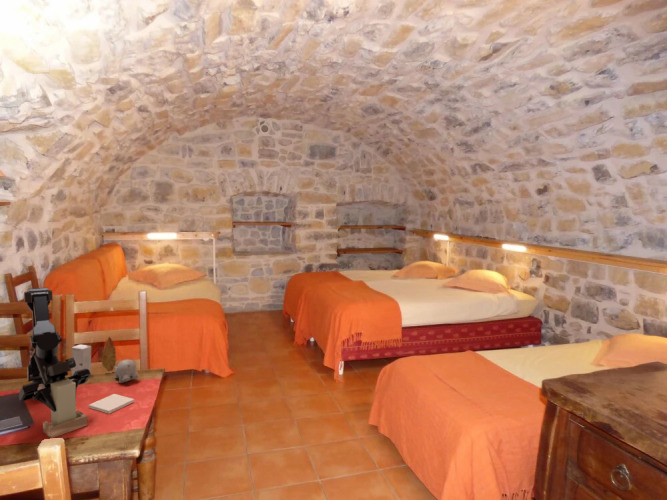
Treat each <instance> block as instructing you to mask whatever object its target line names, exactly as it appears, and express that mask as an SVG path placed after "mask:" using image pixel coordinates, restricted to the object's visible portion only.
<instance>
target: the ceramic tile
mask: <svg viewBox="0 0 667 500" xmlns="http://www.w3.org/2000/svg"><path fill="white" fill-rule="evenodd" d="M132 403H135V398H132V397H129V396H128V397H127V396H123V395H122V394H121V395H120V394H117V393H113V394H110V395H108V396H106V397H104V398H101V399H99V400H97V401H95V402H92V403H90V404H88V408H89V409H92V410H95V411H99V412H102V413H105V414H108V415H110V414H112V413H115V412H116V411H118V410H121V409H122V408H125V407H127V406H128V405H130V404H132Z"/></svg>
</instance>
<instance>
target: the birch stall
mask: <svg viewBox="0 0 667 500" xmlns="http://www.w3.org/2000/svg"><path fill="white" fill-rule="evenodd" d="M85 426H88V415H87V414H85V413H83V412H82V411H81V410H76V419H73V420H70V421H67V422H64V423H62V424H59V425H56V426H53V425H51V422H49V421H48V420H46V421H42V432H43V433H44V434H45V435H46V436H48V437H50V439H53V438H56V437H58V436H61V435H64V434H67V433H70V432H72V431H75V430H78V429H81V428H84V427H85Z"/></svg>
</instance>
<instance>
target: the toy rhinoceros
mask: <svg viewBox="0 0 667 500" xmlns="http://www.w3.org/2000/svg"><path fill="white" fill-rule="evenodd" d="M113 369H114V377H115V378H116V379H118V382H119V383H120V384H123V383H126V382H129V381H133V380H135V379H137V378H139V376H140V375H139V373H138V371H137V365H136V363H135V361H133V360H132V359H123V360H121V361H120V362H118V364H117V366H116V365H115V366H114V368H113Z"/></svg>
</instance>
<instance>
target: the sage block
mask: <svg viewBox="0 0 667 500" xmlns="http://www.w3.org/2000/svg"><path fill="white" fill-rule="evenodd" d="M50 395H51V397H52V400H53V402H54V404H55V407H56V411H55V412H54V411H52V410H51V409H50V424H51V425H53V426H56V425H59V424H62V423H64V422H67V421H70V420H73V419H76V411H77V403H76V402H77V389H76V383H75V382H73V381H71V380H69V379H66V380H63V381H59V382H55V383H52V384H51V394H50Z"/></svg>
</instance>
